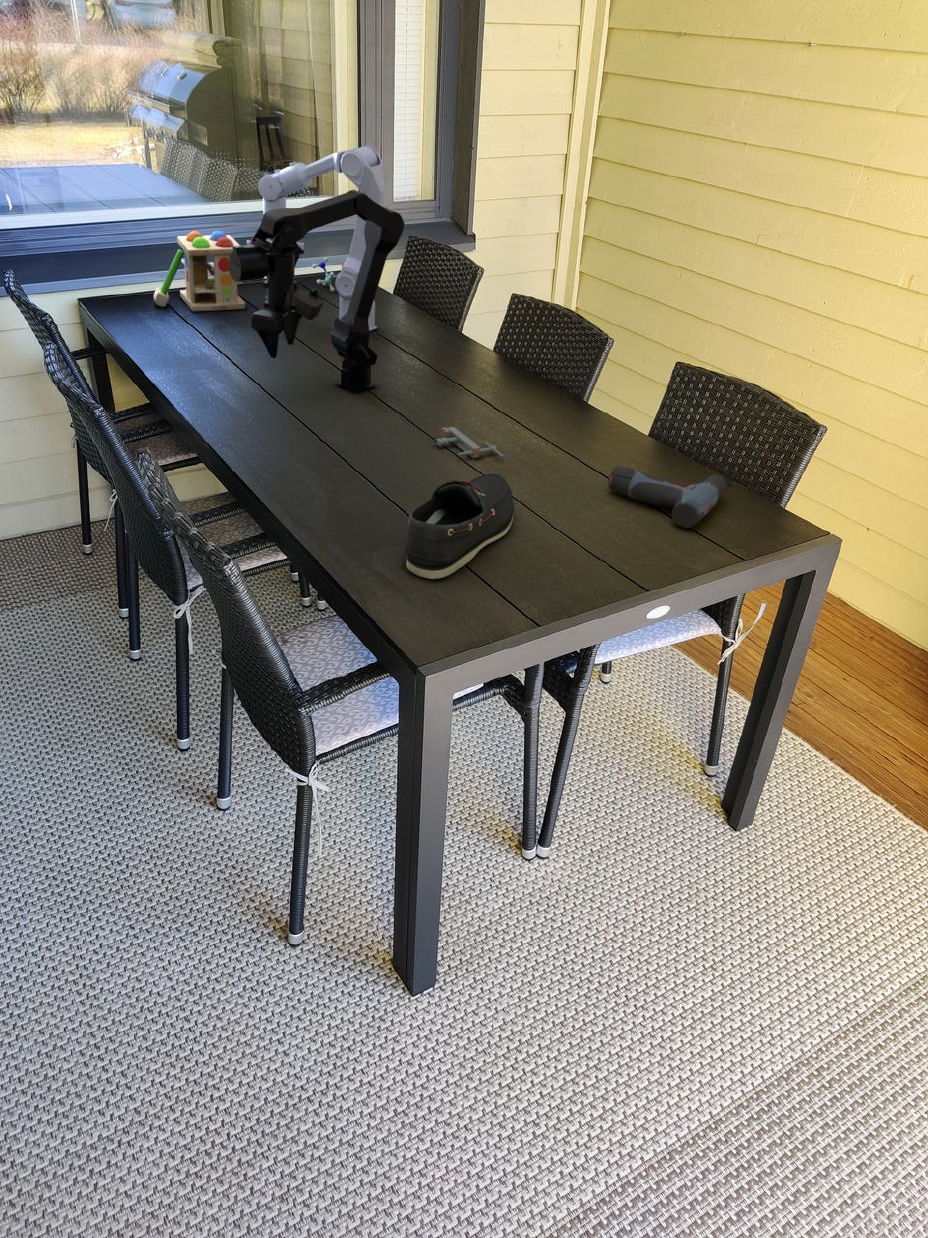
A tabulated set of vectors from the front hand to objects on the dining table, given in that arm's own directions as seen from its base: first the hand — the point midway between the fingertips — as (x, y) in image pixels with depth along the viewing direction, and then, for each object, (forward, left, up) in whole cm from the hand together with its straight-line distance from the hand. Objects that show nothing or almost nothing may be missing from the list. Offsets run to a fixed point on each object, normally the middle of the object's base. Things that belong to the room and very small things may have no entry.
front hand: (282, 350), depth 210 cm
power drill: (-24, +83, -11) cm, 87 cm away
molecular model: (-67, -56, -11) cm, 88 cm away
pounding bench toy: (-26, -65, -11) cm, 71 cm away
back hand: (-38, -46, -2) cm, 60 cm away
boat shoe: (+17, +66, -11) cm, 69 cm away
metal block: (-38, -46, -11) cm, 61 cm away
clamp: (-11, +44, -11) cm, 46 cm away
